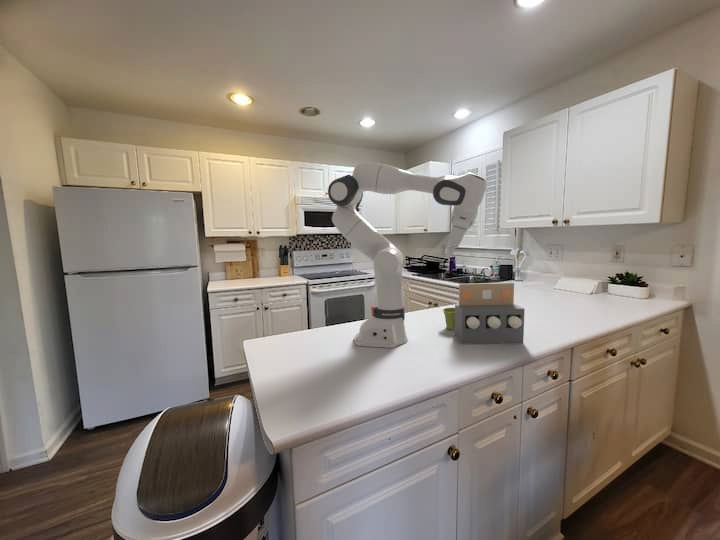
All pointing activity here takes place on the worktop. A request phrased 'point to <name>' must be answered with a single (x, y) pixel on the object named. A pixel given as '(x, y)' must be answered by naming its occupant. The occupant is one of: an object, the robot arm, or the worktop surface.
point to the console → (487, 313)
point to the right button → (514, 321)
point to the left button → (472, 322)
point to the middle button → (493, 322)
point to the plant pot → (450, 318)
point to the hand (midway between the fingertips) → (451, 250)
